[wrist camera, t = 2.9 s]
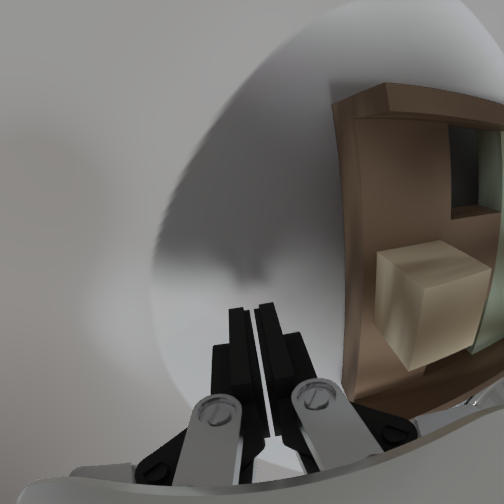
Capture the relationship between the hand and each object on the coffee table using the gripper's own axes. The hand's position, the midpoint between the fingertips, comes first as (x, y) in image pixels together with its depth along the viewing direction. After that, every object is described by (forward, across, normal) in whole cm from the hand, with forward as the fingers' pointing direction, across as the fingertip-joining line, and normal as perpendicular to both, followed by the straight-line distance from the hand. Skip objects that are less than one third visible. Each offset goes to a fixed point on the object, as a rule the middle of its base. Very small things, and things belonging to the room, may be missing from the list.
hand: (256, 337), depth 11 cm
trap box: (+5, -14, 0) cm, 14 cm away
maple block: (+2, -8, 0) cm, 8 cm away
